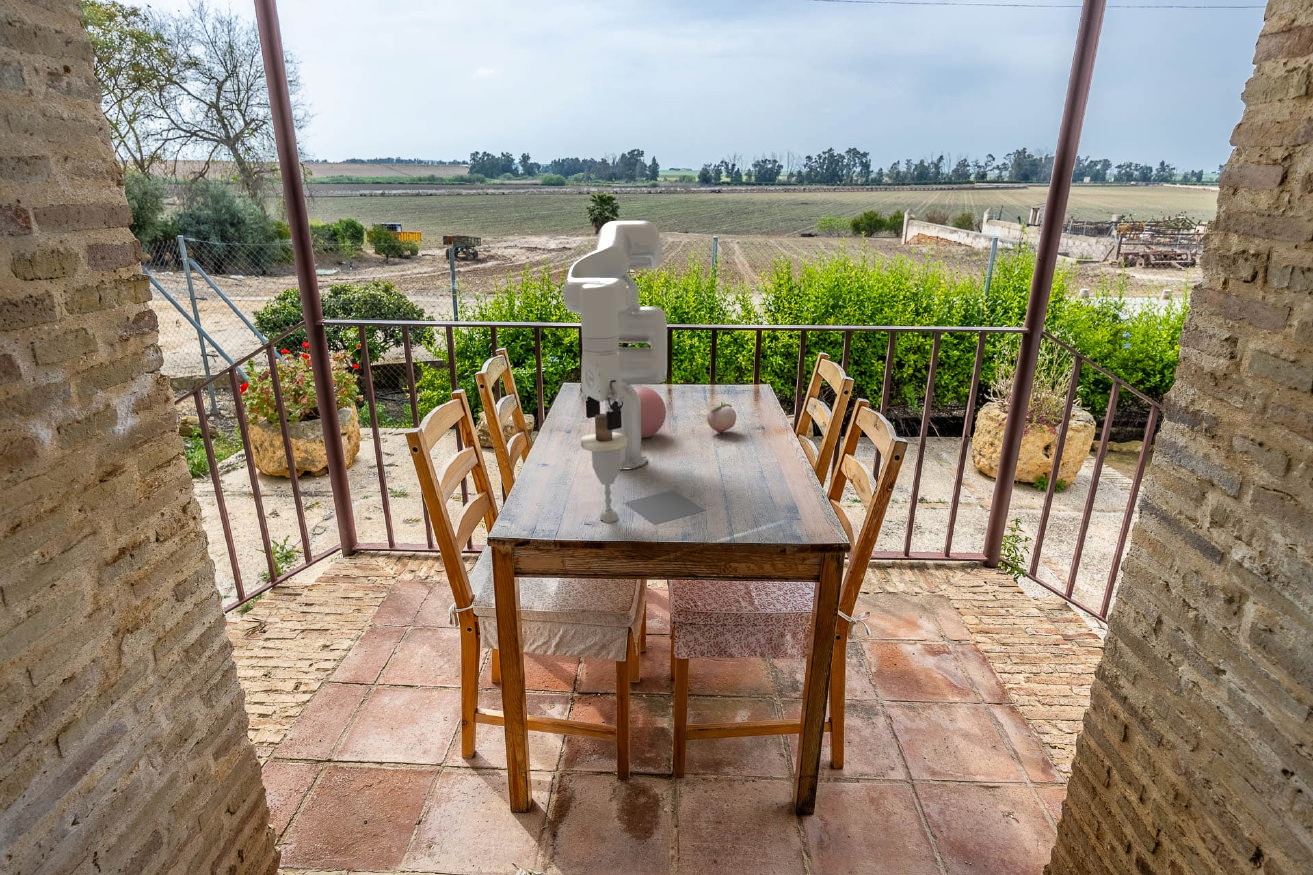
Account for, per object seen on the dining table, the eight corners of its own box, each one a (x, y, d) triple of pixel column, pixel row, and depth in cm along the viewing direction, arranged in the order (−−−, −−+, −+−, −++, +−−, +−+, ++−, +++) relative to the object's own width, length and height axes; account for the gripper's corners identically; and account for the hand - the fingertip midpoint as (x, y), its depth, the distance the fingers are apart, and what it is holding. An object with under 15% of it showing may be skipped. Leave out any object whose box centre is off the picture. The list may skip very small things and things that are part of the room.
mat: (623, 504, 165) (623, 502, 165) (673, 492, 172) (673, 489, 171) (654, 527, 153) (654, 524, 153) (706, 512, 160) (706, 510, 160)
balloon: (669, 424, 223) (668, 377, 218) (664, 445, 204) (663, 394, 199) (621, 423, 224) (619, 377, 219) (611, 444, 206) (610, 394, 201)
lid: (573, 442, 153) (571, 414, 151) (613, 434, 158) (612, 406, 156) (594, 455, 145) (593, 425, 143) (635, 446, 150) (635, 417, 148)
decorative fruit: (725, 440, 208) (726, 407, 205) (702, 435, 213) (702, 403, 210) (741, 431, 215) (742, 400, 212) (719, 427, 220) (719, 396, 217)
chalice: (625, 513, 160) (623, 439, 155) (624, 526, 154) (622, 449, 148) (593, 514, 160) (589, 439, 154) (591, 527, 154) (588, 450, 148)
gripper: (566, 339, 150) (570, 415, 155) (603, 354, 136) (606, 437, 141) (597, 335, 153) (600, 410, 159) (637, 349, 139) (638, 430, 145)
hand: (603, 422), depth 150 cm, fingers open, 9 cm apart
